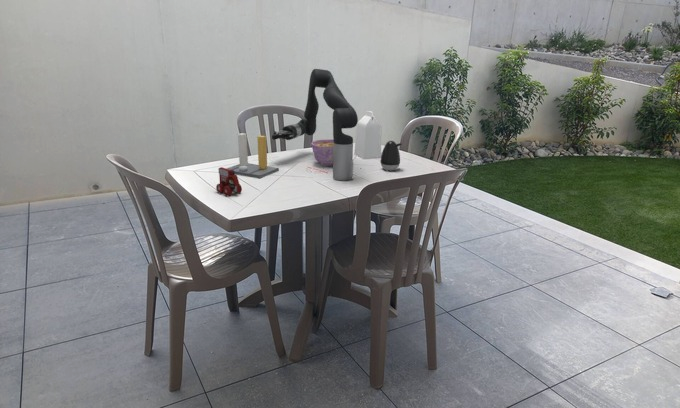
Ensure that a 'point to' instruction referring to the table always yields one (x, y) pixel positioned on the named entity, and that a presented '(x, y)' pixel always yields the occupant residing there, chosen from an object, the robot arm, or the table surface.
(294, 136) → the robot arm
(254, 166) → the panel
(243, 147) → the lever ivory
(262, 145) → the lever amber
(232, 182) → the toy fire truck
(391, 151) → the pump dispenser
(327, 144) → the bowl of food
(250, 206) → the table surface
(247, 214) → the table surface
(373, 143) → the milk
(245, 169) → the button grey
